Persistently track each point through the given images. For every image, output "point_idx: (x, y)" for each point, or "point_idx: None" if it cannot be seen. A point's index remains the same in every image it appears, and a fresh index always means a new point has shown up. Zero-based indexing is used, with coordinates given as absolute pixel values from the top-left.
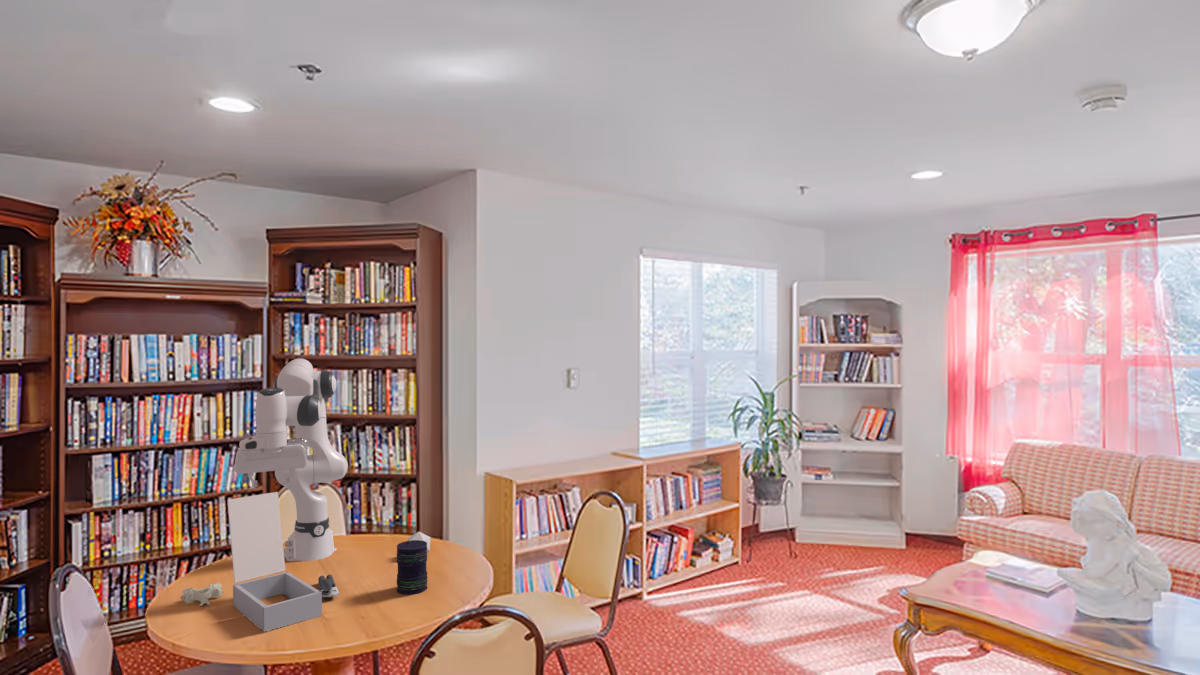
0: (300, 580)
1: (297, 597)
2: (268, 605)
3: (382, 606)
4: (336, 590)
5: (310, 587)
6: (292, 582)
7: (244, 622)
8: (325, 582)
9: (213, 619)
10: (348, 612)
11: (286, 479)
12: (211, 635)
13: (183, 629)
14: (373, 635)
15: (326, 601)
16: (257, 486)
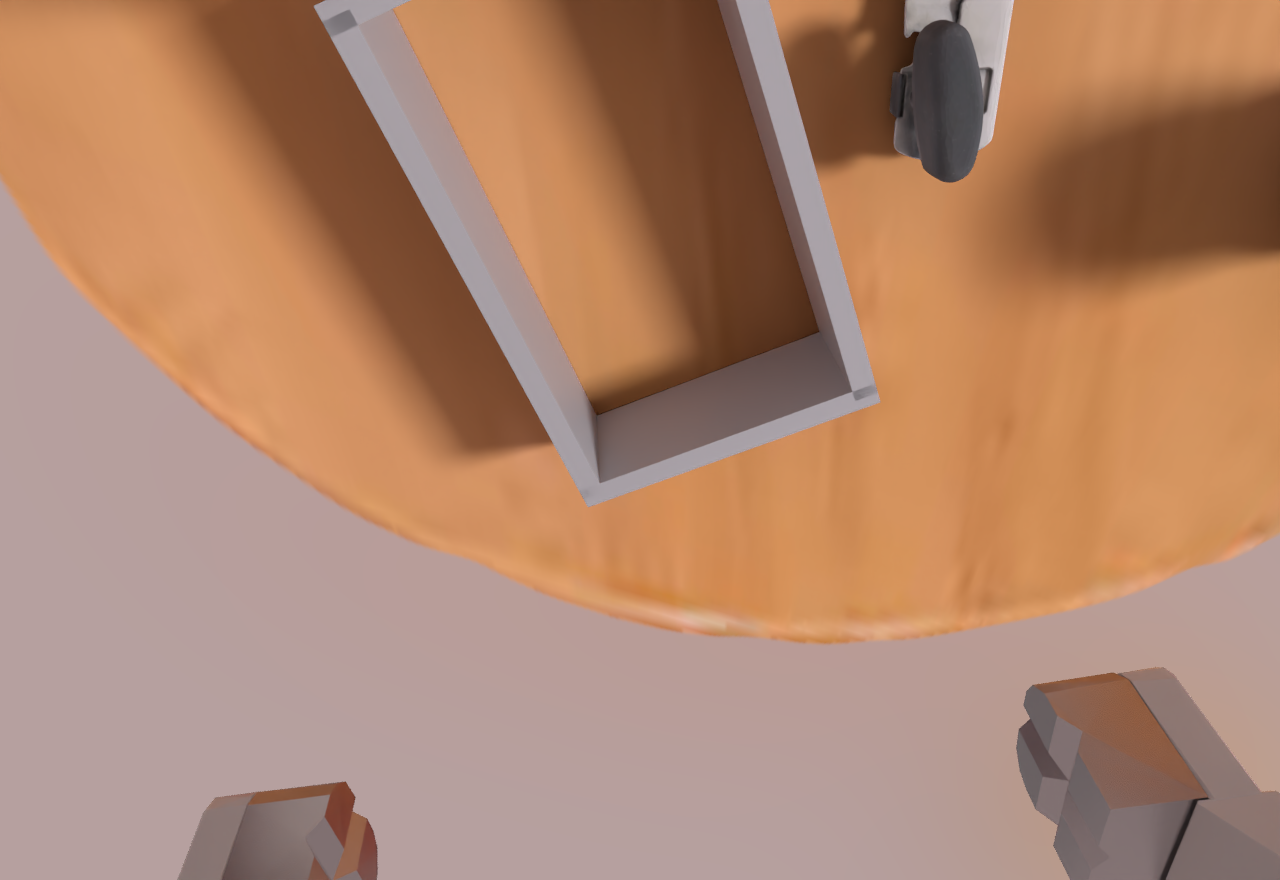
0: (794, 129)
1: (750, 429)
2: (606, 483)
3: (1130, 337)
4: (992, 88)
5: (836, 300)
6: (740, 30)
7: None
8: (944, 151)
9: (288, 164)
10: (966, 349)
11: (1075, 866)
12: (348, 381)
13: (167, 252)
14: (981, 595)
15: None
16: (376, 852)
